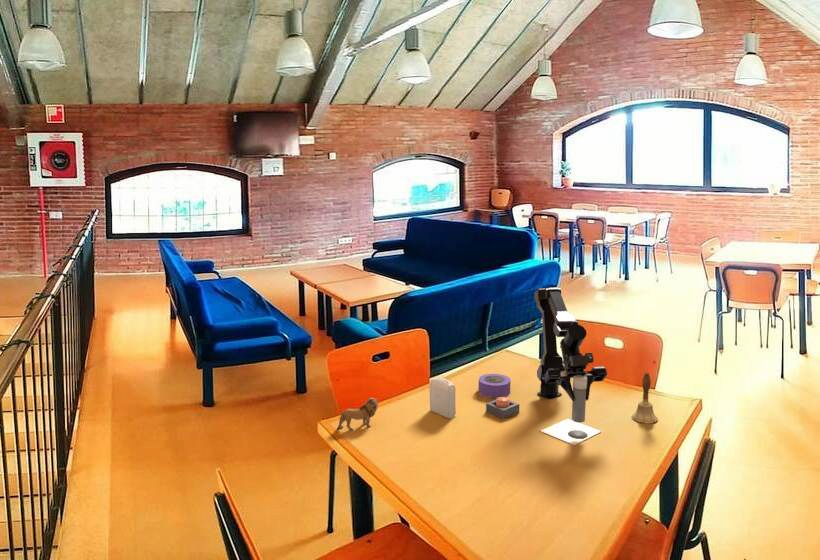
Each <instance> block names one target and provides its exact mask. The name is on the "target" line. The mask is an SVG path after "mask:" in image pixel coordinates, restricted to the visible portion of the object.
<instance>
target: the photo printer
mask: <svg viewBox="0 0 820 560" xmlns="http://www.w3.org/2000/svg"><path fill="white" fill-rule="evenodd" d="M456 408H457V407H456V386H455V385H454V384H453V382H451V381H449V380H448V379H446V378H443V377H434V378H431V380H430V381H429V410H430V411H432V412H433V413H436V414H438V415H440V416H442V417H445V418H448V419H452V418H454V417H455V415H456V412H457V411H456Z"/></svg>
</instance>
